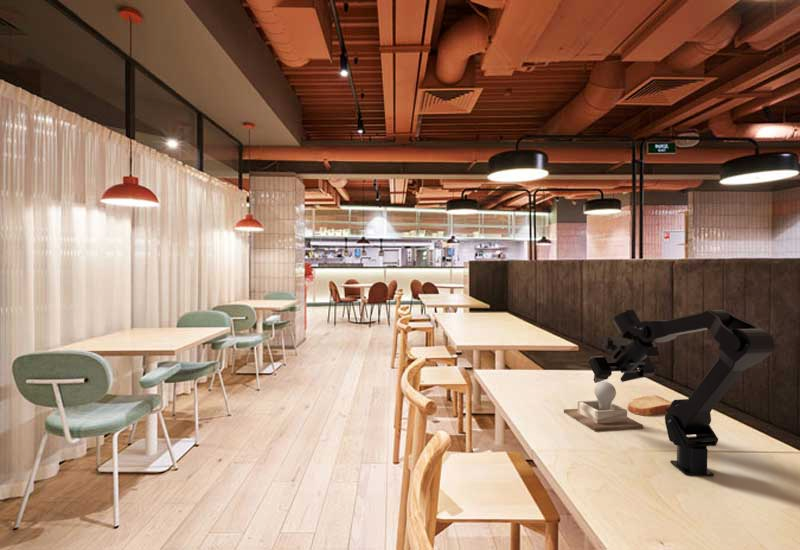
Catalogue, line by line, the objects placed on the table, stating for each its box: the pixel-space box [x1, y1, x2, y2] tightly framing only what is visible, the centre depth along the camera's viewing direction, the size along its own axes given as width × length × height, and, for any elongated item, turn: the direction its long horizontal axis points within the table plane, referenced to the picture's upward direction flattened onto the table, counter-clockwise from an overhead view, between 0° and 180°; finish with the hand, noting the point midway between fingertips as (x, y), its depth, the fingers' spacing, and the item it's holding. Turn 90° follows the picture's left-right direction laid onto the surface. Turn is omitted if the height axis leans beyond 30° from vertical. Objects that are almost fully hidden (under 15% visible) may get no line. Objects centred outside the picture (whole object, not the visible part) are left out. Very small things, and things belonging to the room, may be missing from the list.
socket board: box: [563, 399, 644, 432], centre depth 134 cm, size 16×16×4 cm
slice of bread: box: [627, 394, 673, 417], centre depth 145 cm, size 18×18×4 cm
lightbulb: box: [593, 381, 617, 410], centre depth 134 cm, size 6×6×11 cm
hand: (608, 381), depth 131 cm, fingers open, 9 cm apart
